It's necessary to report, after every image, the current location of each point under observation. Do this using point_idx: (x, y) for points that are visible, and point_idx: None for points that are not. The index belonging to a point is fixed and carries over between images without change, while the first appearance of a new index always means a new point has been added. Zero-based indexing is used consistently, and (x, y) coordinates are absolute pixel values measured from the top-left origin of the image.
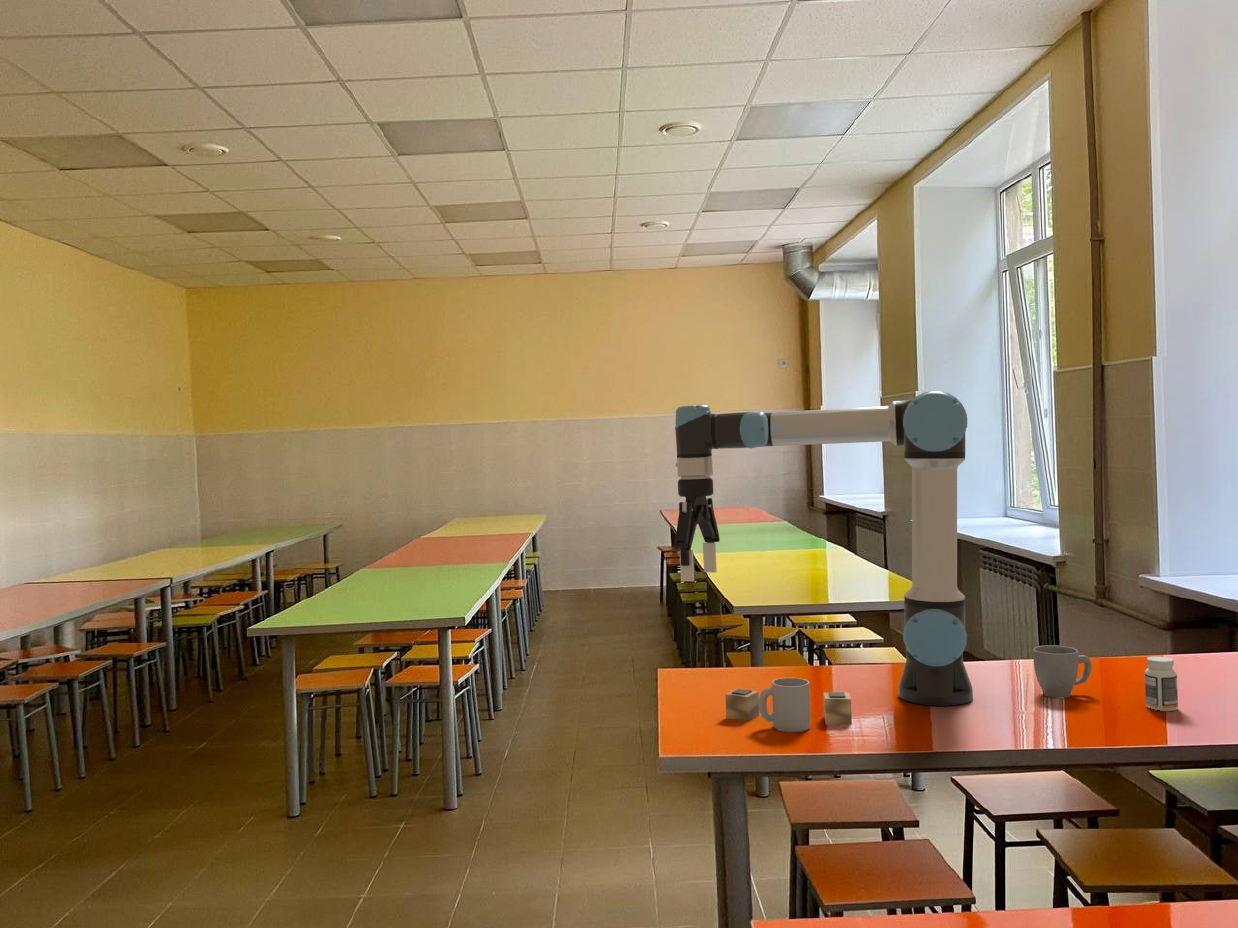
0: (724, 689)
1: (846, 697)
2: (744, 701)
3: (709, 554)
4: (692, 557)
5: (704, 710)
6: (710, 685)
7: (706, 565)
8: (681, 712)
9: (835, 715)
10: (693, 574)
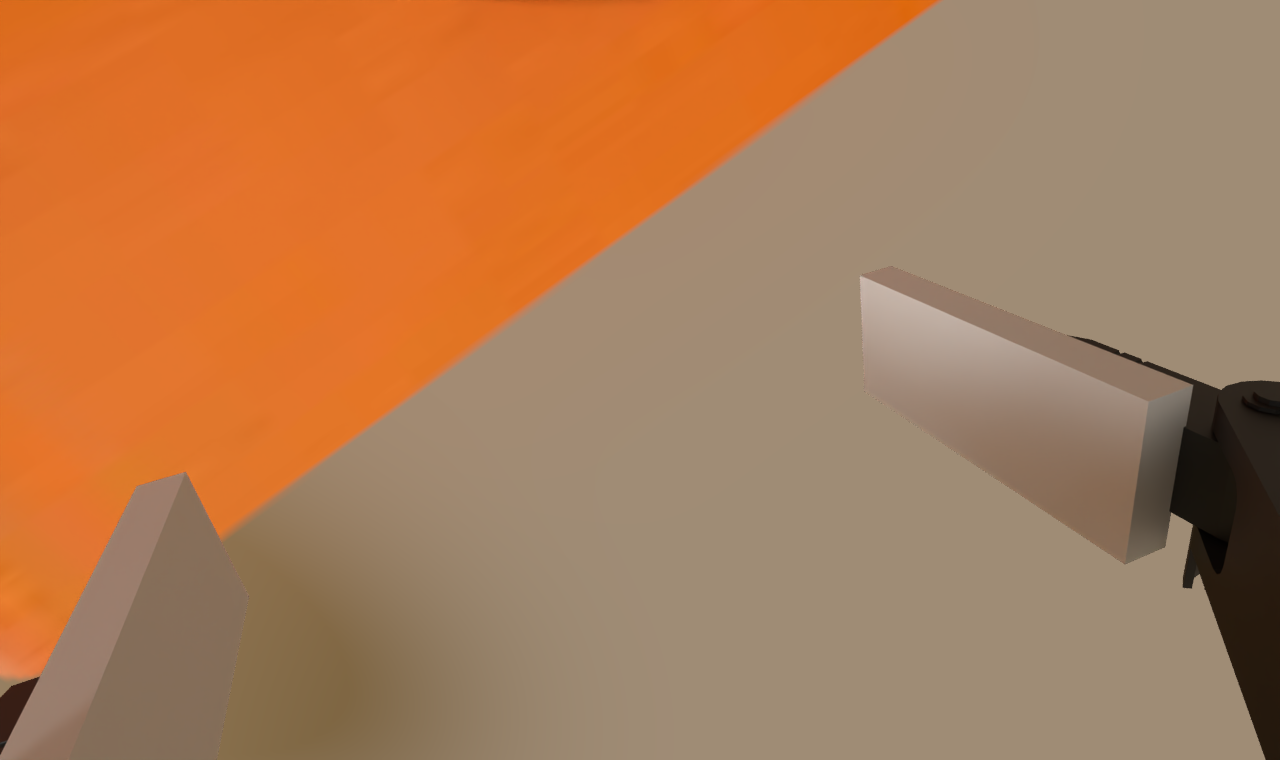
0: (153, 267)
1: None
2: None
3: (169, 699)
4: (1078, 351)
5: (511, 146)
6: (137, 364)
7: (223, 622)
8: (581, 210)
9: None
10: (916, 289)
